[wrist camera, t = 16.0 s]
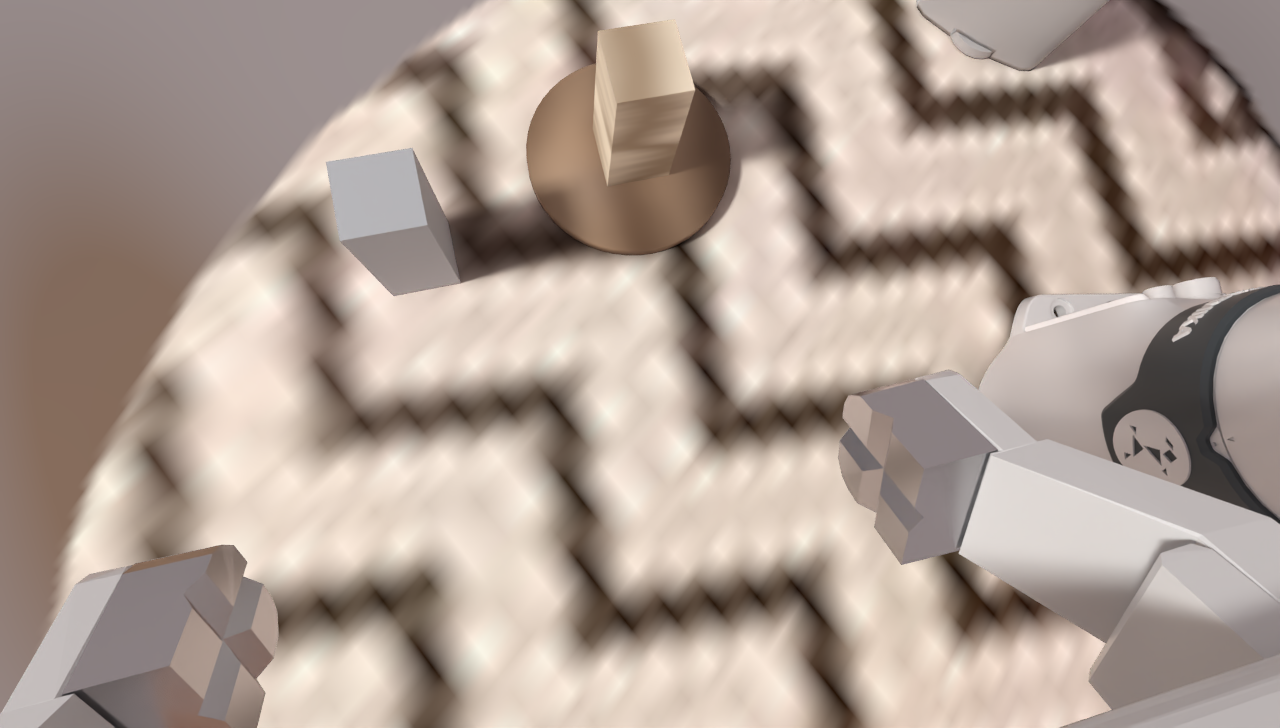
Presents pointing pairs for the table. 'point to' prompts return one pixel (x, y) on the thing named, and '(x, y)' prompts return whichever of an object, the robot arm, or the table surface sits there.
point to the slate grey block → (393, 221)
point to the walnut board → (630, 210)
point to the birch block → (640, 100)
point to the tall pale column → (1009, 26)
